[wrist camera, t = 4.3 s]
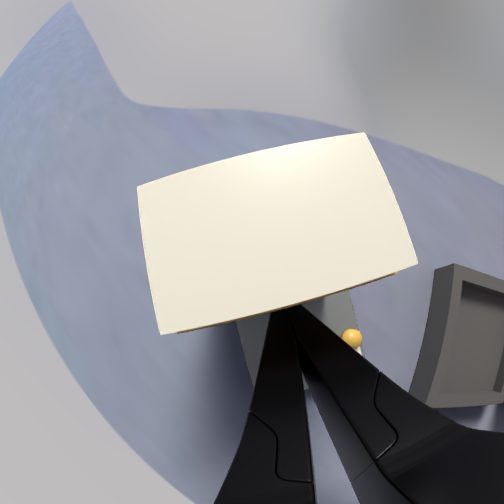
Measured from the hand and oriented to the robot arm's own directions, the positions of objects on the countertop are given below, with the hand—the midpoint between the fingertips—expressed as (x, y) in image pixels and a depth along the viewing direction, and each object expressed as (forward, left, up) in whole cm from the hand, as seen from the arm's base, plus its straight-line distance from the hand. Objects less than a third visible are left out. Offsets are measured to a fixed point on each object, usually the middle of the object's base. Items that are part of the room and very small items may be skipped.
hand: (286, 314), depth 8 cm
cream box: (+2, +1, -5) cm, 6 cm away
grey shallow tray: (0, -13, -7) cm, 15 cm away
